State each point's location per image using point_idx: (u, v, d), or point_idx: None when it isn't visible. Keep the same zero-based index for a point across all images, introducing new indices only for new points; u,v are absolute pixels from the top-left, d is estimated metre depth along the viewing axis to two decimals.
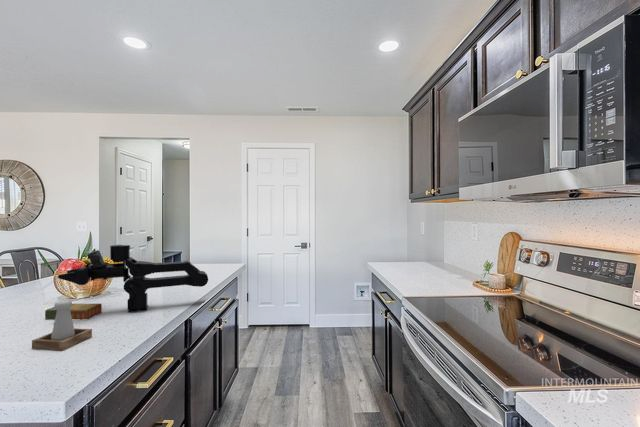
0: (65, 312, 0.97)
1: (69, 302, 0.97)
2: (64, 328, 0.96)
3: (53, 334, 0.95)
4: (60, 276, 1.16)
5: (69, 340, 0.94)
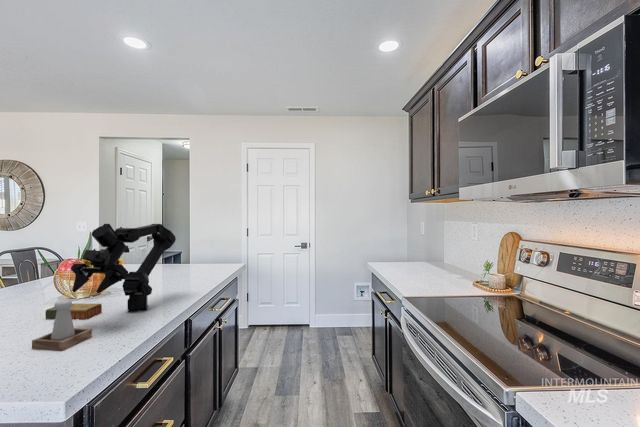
0: (65, 312, 0.97)
1: (69, 302, 0.97)
2: (64, 328, 0.96)
3: (53, 334, 0.95)
4: (100, 290, 1.05)
5: (69, 340, 0.94)
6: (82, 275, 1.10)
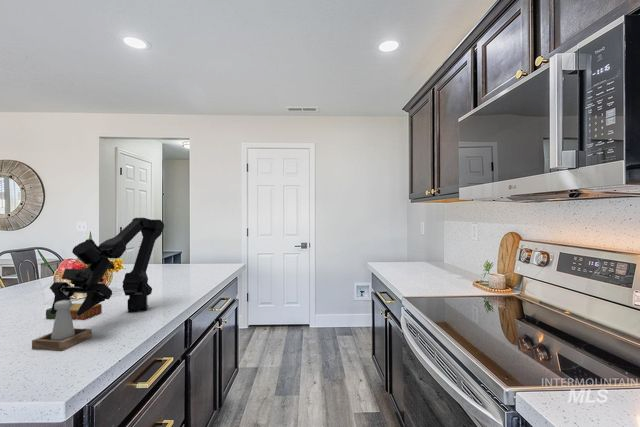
0: (65, 312, 0.97)
1: (69, 302, 0.97)
2: (64, 328, 0.96)
3: (53, 334, 0.95)
4: (80, 312, 0.98)
5: (69, 340, 0.94)
6: (62, 295, 1.02)
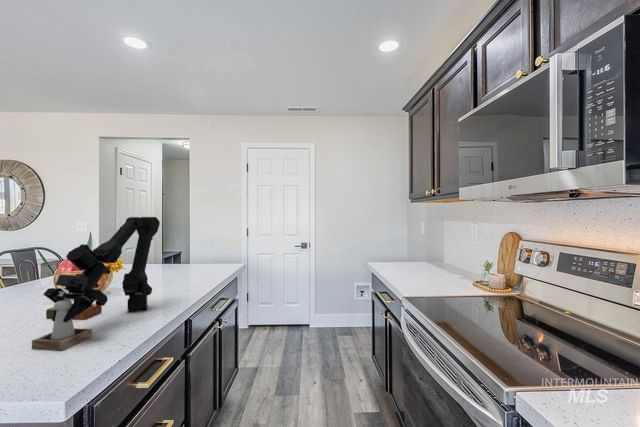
0: (65, 312, 0.97)
1: (69, 302, 0.97)
2: (64, 328, 0.96)
3: (53, 334, 0.95)
4: (67, 318, 0.96)
5: (69, 340, 0.94)
6: None
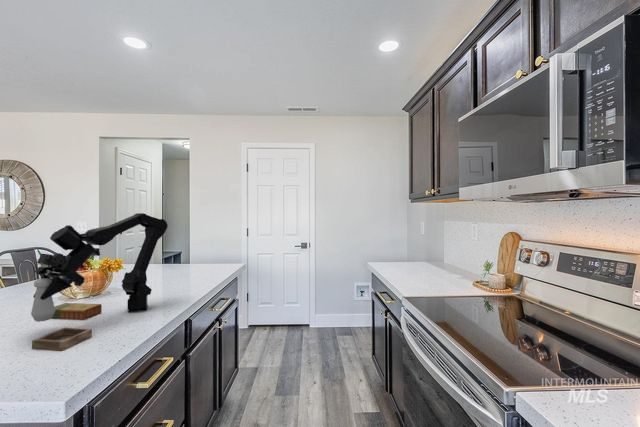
0: (43, 290, 0.99)
1: (47, 280, 1.00)
2: (41, 305, 0.98)
3: (32, 310, 0.98)
4: (44, 296, 0.99)
5: (69, 340, 0.94)
6: None
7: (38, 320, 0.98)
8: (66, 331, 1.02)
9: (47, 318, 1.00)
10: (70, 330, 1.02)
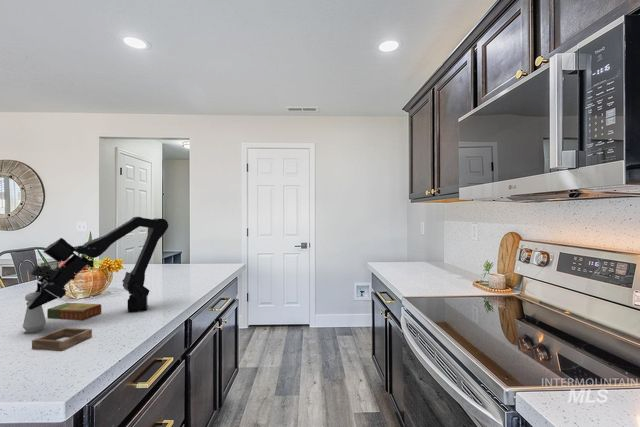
0: None
1: (35, 294, 1.06)
2: (29, 318, 1.05)
3: None
4: (31, 306, 1.04)
5: (69, 340, 0.94)
6: None
7: (27, 332, 1.05)
8: (66, 331, 1.02)
9: (35, 330, 1.05)
10: (70, 330, 1.02)
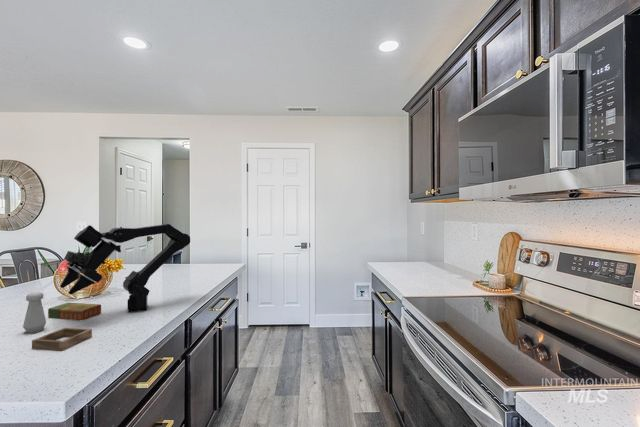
0: (32, 304, 1.05)
1: (36, 295, 1.06)
2: (30, 318, 1.05)
3: (24, 322, 1.05)
4: (71, 291, 1.10)
5: (69, 340, 0.94)
6: (73, 272, 1.18)
7: (28, 332, 1.05)
8: (66, 331, 1.02)
9: (35, 330, 1.05)
10: (70, 330, 1.02)
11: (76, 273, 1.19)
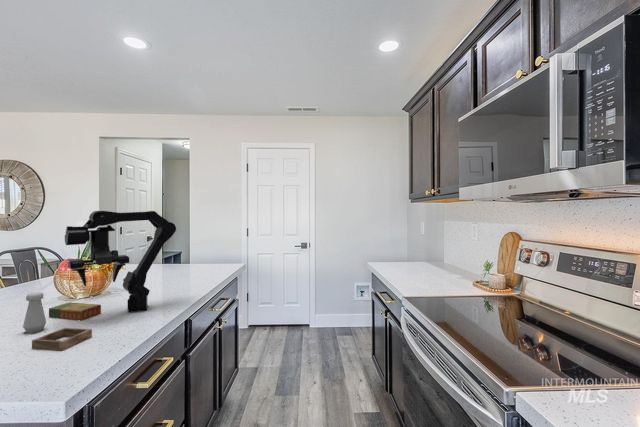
0: (32, 304, 1.05)
1: (36, 295, 1.06)
2: (30, 318, 1.05)
3: (24, 322, 1.05)
4: None
5: (69, 340, 0.94)
6: None
7: (28, 332, 1.05)
8: (66, 331, 1.02)
9: (35, 330, 1.05)
10: (70, 330, 1.02)
11: None
